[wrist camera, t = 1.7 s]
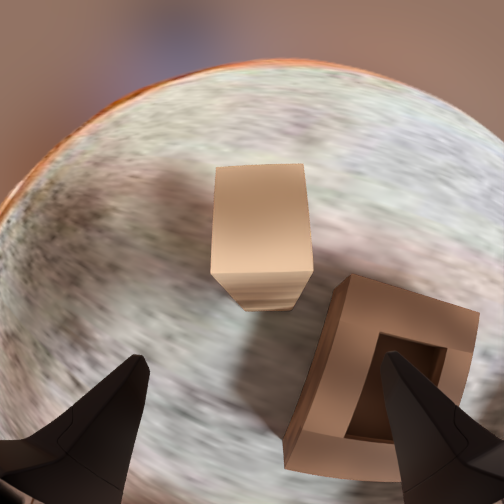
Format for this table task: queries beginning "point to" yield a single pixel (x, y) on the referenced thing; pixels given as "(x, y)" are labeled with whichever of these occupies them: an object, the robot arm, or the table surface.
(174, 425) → the table surface
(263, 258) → the light wooden peg
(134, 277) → the table surface
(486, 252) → the table surface
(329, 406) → the wooden block with hole
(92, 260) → the table surface
